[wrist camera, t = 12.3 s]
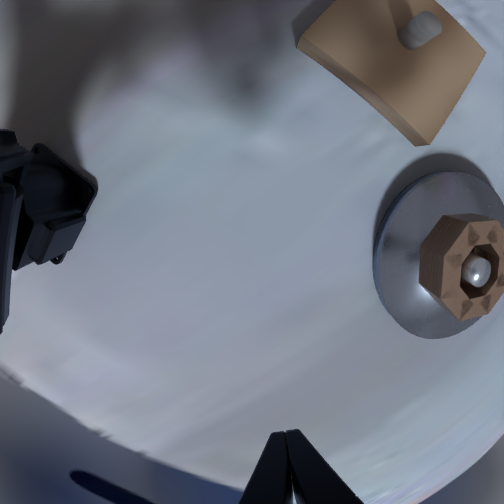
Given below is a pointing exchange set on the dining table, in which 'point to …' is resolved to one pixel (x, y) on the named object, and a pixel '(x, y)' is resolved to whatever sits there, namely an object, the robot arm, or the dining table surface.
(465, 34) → the stand
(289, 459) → the robot arm
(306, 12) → the dining table surface
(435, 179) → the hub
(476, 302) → the octagonal wooden ring
